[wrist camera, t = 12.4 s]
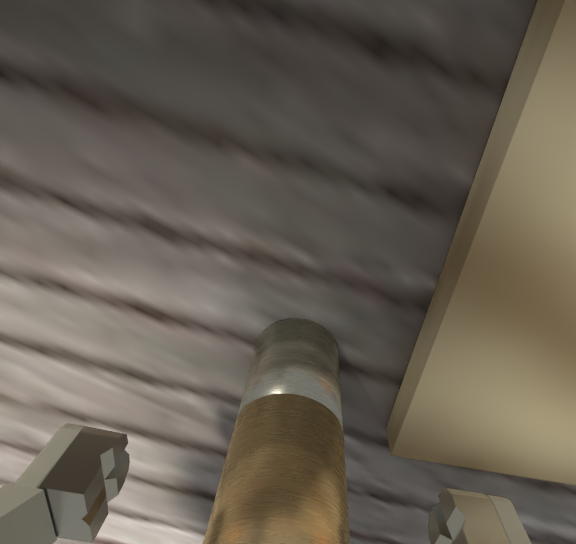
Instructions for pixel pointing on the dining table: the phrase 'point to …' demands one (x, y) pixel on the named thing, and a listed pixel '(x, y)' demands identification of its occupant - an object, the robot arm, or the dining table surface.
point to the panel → (508, 287)
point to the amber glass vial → (286, 446)
